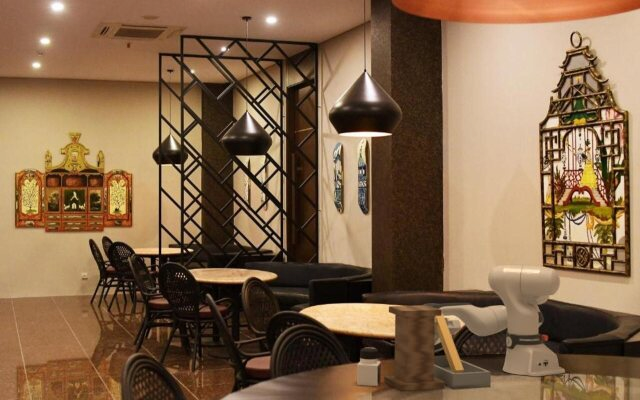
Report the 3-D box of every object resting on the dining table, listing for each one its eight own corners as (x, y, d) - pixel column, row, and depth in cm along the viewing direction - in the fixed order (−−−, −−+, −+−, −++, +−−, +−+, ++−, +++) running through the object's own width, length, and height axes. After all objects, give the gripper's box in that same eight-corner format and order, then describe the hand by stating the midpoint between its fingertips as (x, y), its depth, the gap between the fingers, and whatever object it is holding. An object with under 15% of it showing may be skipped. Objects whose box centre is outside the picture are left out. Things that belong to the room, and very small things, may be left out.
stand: (426, 379, 283) (427, 304, 283) (444, 388, 269) (445, 310, 269) (384, 381, 278) (384, 306, 278) (400, 391, 264) (401, 311, 264)
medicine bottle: (377, 386, 271) (378, 350, 271) (356, 385, 272) (357, 349, 272) (380, 381, 278) (381, 346, 278) (360, 380, 279) (360, 345, 279)
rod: (439, 318, 297) (442, 313, 295) (460, 374, 281) (463, 369, 279) (432, 318, 296) (435, 313, 294) (453, 375, 280) (456, 370, 278)
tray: (449, 368, 301) (450, 355, 301) (490, 386, 272) (490, 371, 272) (415, 370, 296) (415, 357, 296) (452, 389, 268) (453, 374, 268)
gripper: (453, 340, 305) (469, 326, 294) (403, 342, 299) (417, 329, 288) (450, 324, 308) (465, 310, 297) (400, 326, 302) (414, 312, 291)
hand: (441, 319), depth 292 cm, fingers closed on rod, 3 cm apart
